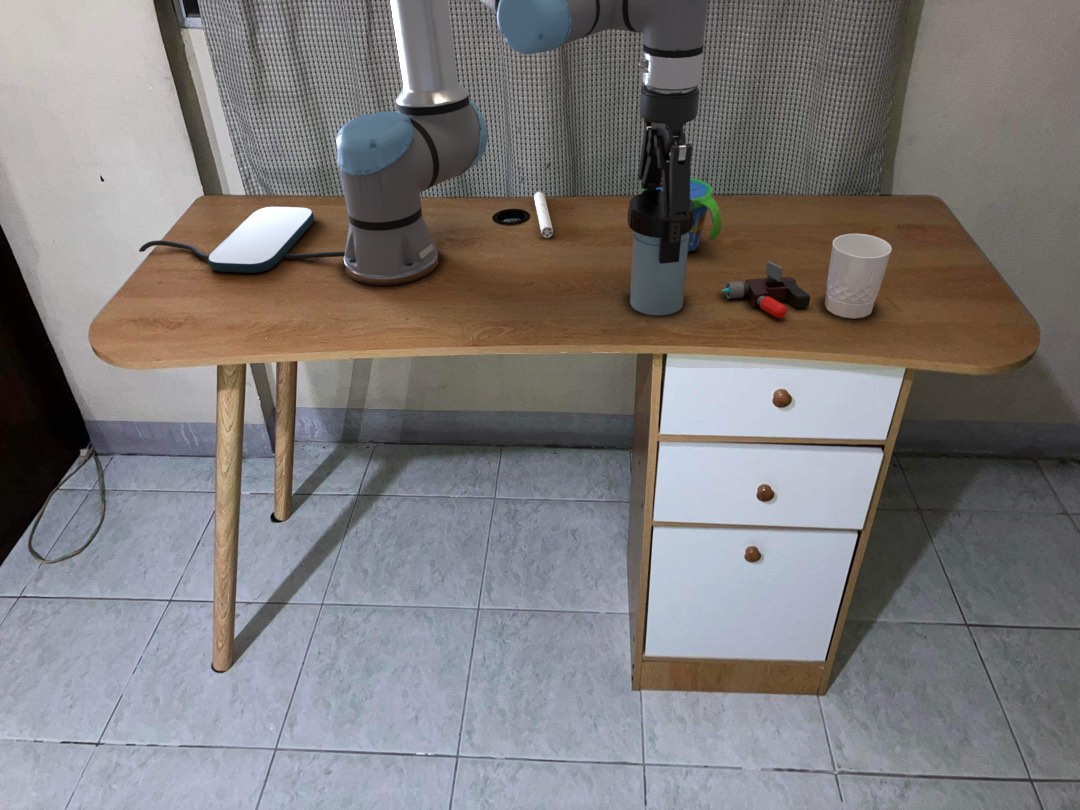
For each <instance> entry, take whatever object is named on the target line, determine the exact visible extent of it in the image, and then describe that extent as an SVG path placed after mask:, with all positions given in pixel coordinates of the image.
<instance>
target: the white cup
mask: <svg viewBox="0 0 1080 810" xmlns="http://www.w3.org/2000/svg"><path fill="white" fill-rule="evenodd" d="M831 243H832V244H831V250H830V251H831V252H830V256H829V257H830V259H829V264H828V272H827V281H826V293H825V298H824V306H825V308H826V310H827V311H828V312H830V313H831V314H832V315H835V316H838V317H841V318H845V319H854V320H855V319H862V318H866V317H868V316H870V315H871V314H872V312H873V309H874V307H875V303H876V299H877V297H878V296H879V294H880V289H881V286H882V284H883V281H884V278H885V274H886V270H887V267H888V263H889V260H890V257H891V255H892V250H893V248H892V245H891V244H890V243H889V242H888V241H886V239H885V240H884V239H883V238H881V237H878V236H875V235H871V234H867V233H845V234H841V235H839V236H836V237H835V238H834V239H832V242H831Z"/></svg>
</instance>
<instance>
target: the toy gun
mask: <svg viewBox="0 0 1080 810" xmlns="http://www.w3.org/2000/svg"><path fill="white" fill-rule="evenodd" d="M782 273H783V267H782V266H780V265H778V264H776V263H774V262H772V261H770V260H768V261H766V267H765V275H766V277H765V278H762V277H761V278H748V279H747V278H746V279H745V281H744V282H743V281H742V280H741V281H727V282H726V284H725V288H724V289H722V290H720V291H721V292H725V295H726V298H727V299H728V300H729V299H731V300H732V299H743V298H744V297H746V298H747V299H748V301H749V303H750V304H751V306H752V307H753V309H754V308H758V307H760V309H761V310H763V311H764V312H766V313H768V314H770V315H771V316H773V317H774V318H777V319H782V318H783V317H785V316H786V315H787V311H788V309H787V307H786V305H785V304H783V303H781V302H782V301H787V302H788V303H789V304H791V305H792V306H793V307H795V308H808V307H809V306H810V302H811V295H810V294H809V293H808V292H806V291H805V290H804V289H802V287H800V286H799V285H798V284H797V281H796V279H795V278H793V277H790V276H782V275H783V274H782Z"/></svg>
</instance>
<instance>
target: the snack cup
mask: <svg viewBox="0 0 1080 810" xmlns="http://www.w3.org/2000/svg"><path fill="white" fill-rule="evenodd" d="M657 189H661V191H663V187H661V188H656V190H657ZM642 191H644V189H642V190H641V192H640V194H642ZM713 191H714V190H713V187H712V185H710V184H709V183H708V182H706V181H704V180H702V179H701V180H700V179H698V178H693V177H692V178H691V177H690V199H691V200H692V201H693V202H694V204H695V207H694V209H695V211H694V221H693V226H692V229H691V230H690V231H689V232H688V233H689V244H688V253H689V252H694V251H695V250H696V249H697V248H698V246H699V244H700V243H701V242H700V241H701V238H702V235H703V230H704V226H705V221H706V217H707V212H708V210H709V213H710V216H711V224H712V226H711V229H710V232H709V241H713V240H714V239H715V240H716V238H717V237H719V235H720V233H721V231H722V230H721V229H722V219H721V218H722V217H721V212H720V207H719V205H718V204H717V201H716V200H715V198H714V197H713Z"/></svg>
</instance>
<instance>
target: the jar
mask: <svg viewBox="0 0 1080 810" xmlns="http://www.w3.org/2000/svg"><path fill="white" fill-rule="evenodd" d="M688 244H689V233H686V234H684V235H681V244H680V255H679V262H673V263H663V264H660V263H659V251H660V238H655V237H648V236H644V235H641V234H638V233H636V232H634V231H633V232H632V246H631V266H630V267H631V268H630V292H629V304H630V306H631V307H632V308H633V309H634V310H635V311H637V312H639V313H641V314H645V315H648V316H649V315H650V316H667V315H671V314H674V313H676V312H678V311H680V310H681V309H682V308H683V306H684V301H685V291H686V290H685V288H686V278H687V267H688V257H689V256H688V255H689V252H688Z"/></svg>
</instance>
